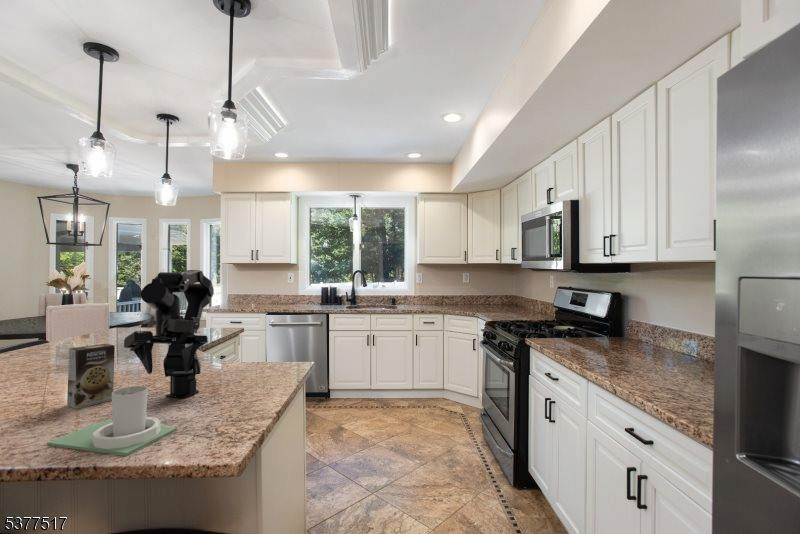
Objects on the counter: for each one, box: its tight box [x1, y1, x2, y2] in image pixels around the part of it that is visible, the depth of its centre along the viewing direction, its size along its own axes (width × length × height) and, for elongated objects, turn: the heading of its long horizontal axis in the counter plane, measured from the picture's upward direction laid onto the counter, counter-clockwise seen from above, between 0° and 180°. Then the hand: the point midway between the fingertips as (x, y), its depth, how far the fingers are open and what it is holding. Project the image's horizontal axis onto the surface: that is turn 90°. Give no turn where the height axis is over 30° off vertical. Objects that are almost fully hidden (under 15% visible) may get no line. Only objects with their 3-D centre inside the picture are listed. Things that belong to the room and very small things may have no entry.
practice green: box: [46, 416, 178, 457], centre depth 86 cm, size 21×13×3 cm, turn 77°
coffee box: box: [66, 343, 116, 410], centre depth 109 cm, size 9×6×16 cm
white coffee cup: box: [111, 385, 149, 437], centre depth 85 cm, size 7×7×10 cm
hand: (169, 372), depth 97 cm, fingers open, 9 cm apart
